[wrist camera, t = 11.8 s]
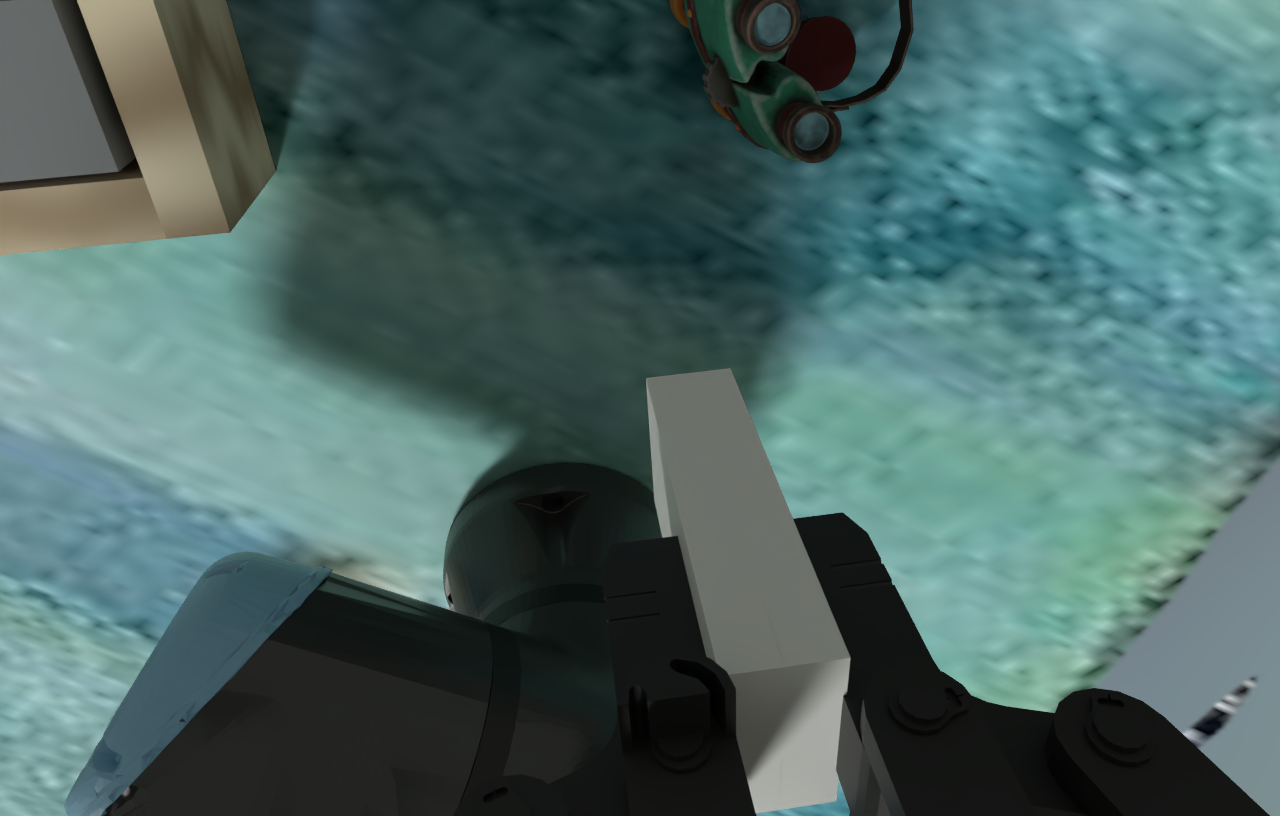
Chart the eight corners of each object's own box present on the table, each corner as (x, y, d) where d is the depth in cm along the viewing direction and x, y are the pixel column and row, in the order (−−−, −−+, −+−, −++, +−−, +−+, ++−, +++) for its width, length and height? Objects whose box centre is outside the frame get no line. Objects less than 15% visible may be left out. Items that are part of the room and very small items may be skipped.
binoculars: (1007, 90, 34) (781, 215, 35) (886, 51, 43) (708, 151, 44) (951, -154, 29) (691, -4, 30) (828, -141, 38) (629, -26, 39)
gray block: (186, 117, 40) (118, 171, 33) (48, 129, 39) (-48, 187, 32) (136, -30, 36) (50, -3, 30) (-14, -19, 36) (-136, 12, 29)
